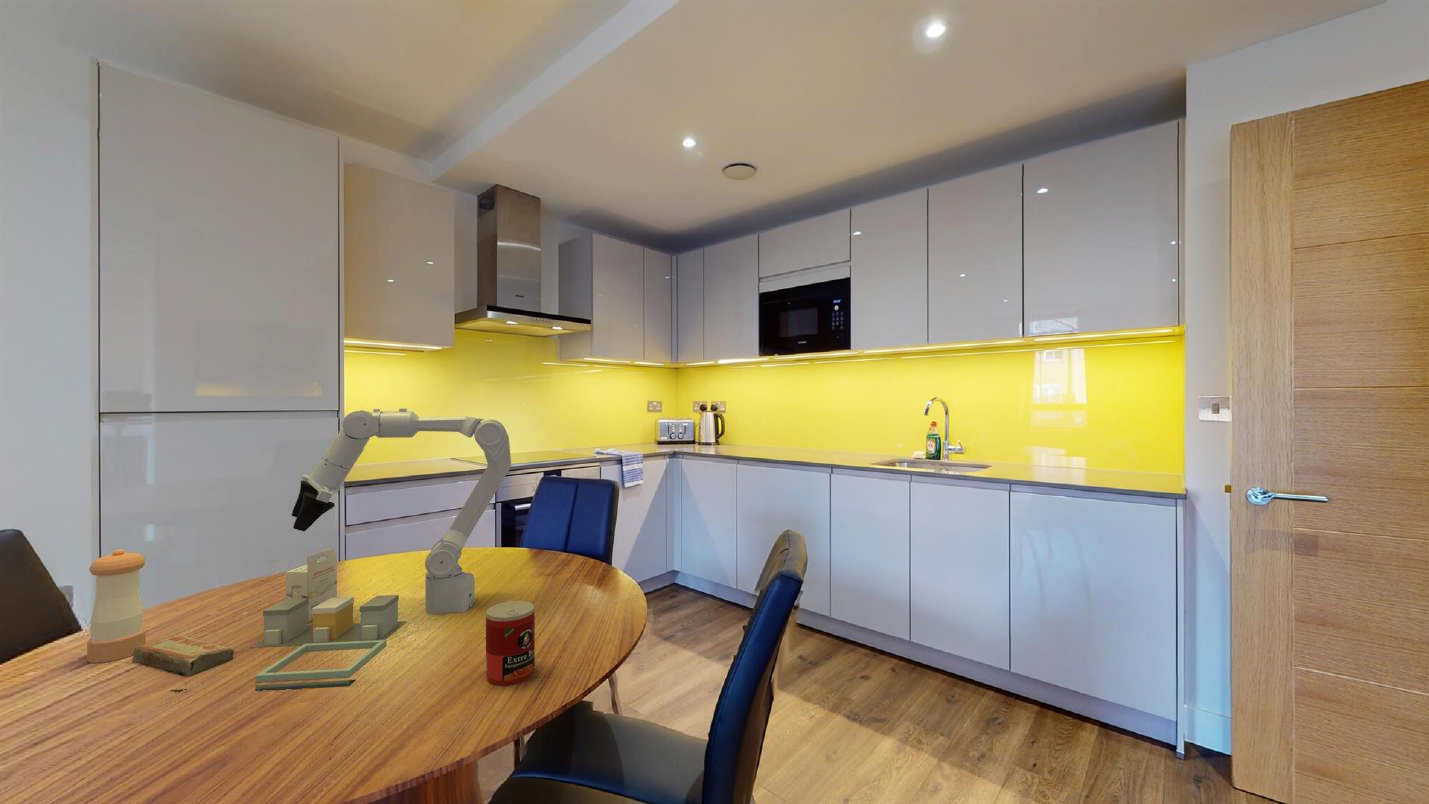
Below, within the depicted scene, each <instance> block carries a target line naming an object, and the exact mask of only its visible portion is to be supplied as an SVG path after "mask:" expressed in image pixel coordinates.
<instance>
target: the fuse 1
mask: <svg viewBox="0 0 1429 804" xmlns="http://www.w3.org/2000/svg"><path fill="white" fill-rule="evenodd" d="M308 604H309V598H308V599H286V598H285V599H284V600H281V601H280V602H278V603H275V604H274V605H272V606H270V607H268V608H266V609H264V610H262V616H263V632H264V631H266V630H275V629H281V642H287V641H289V640H291V639H292V638H294V637H296V636H297V635H299V634H300V633H302V632H304V631H305V630H307V629H308V626H309V625H308V622H309V621H308Z"/></svg>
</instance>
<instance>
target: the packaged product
mask: <svg viewBox="0 0 1429 804" xmlns="http://www.w3.org/2000/svg"><path fill="white" fill-rule="evenodd" d="M235 653H236V652H235V650H234V649H233V648H230V647H227V646H225V645H221V644H220V645H219V644H216V643H212V642H208V641H204V640H201V639H197V638H194V637H190V636H186V635H169V636H166V637H163V638H160V639H156V640H153V641H150V642H147V643H146V642H145V644H143V645H140V646H138V647H136V648H135V649H134V652H133V654H134V655H132V663H133V664H136V663H137V664H143V665H144V666H147V667H150V668H151V667H153V668H156V669H160V670H163V671H165V672H167V673H175V674H177V675H179V676H182V677H191V676H195V675H196V674H200V672H203V671H205V670H208V669H210V668H213V667H215V666H218V665H220V664H222V663H225V662H227V661H228V662H229V661H230V660H232V659H233V657H234V654H235ZM170 690H171V691H170V692H173V691H174V693H177V692H178V693H177V694H179V693H181V691H182V692H184V691H183V690H185V691H187V690H188V688H184V689H183V688H182V689H181V688H179V689H170Z"/></svg>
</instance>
